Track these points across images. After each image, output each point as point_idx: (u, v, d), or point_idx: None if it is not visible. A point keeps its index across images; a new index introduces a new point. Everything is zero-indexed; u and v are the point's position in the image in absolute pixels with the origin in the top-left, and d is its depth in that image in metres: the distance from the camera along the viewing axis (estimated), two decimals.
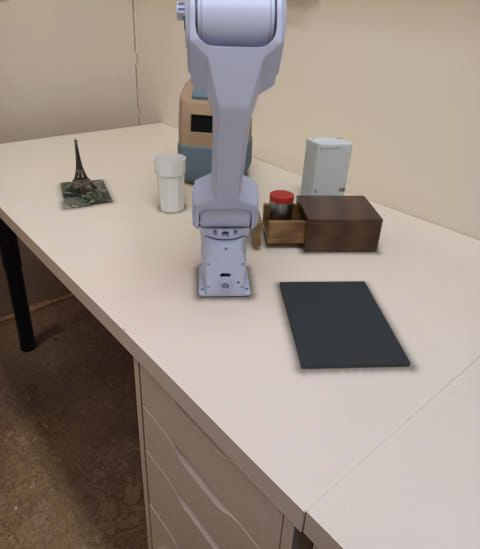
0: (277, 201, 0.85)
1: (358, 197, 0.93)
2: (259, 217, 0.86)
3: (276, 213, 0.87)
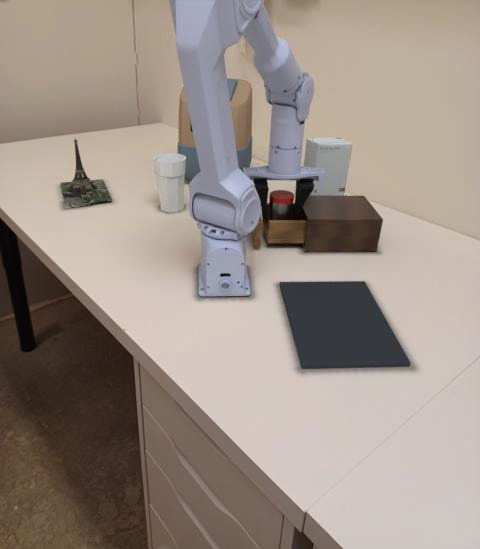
0: (277, 201, 0.85)
1: (358, 197, 0.93)
2: None
3: (276, 213, 0.87)
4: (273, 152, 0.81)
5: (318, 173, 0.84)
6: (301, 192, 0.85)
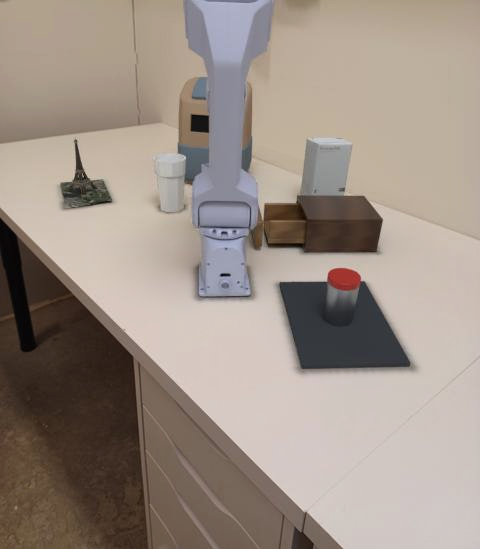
0: (337, 286, 0.63)
1: (358, 197, 0.93)
2: (260, 217, 0.86)
3: (334, 300, 0.65)
4: None
5: None
6: None
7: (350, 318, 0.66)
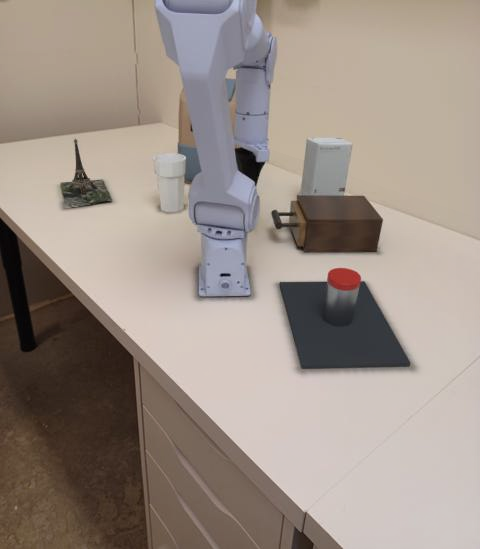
0: (337, 286, 0.63)
1: (358, 197, 0.93)
2: (303, 217, 0.86)
3: (334, 300, 0.65)
4: (265, 119, 0.78)
5: None
6: None
7: (350, 318, 0.66)
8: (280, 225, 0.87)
